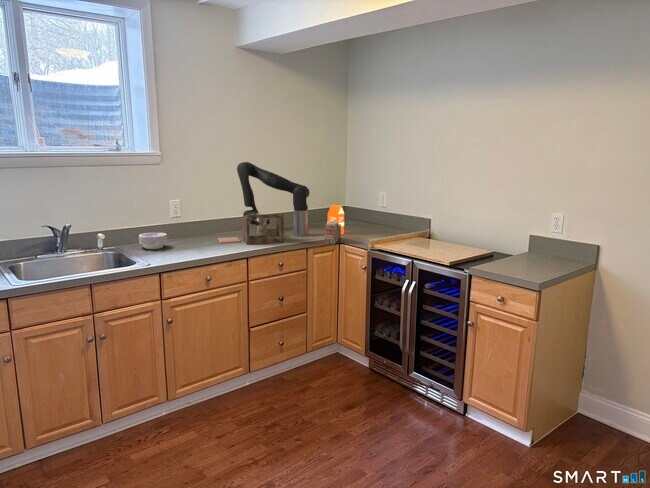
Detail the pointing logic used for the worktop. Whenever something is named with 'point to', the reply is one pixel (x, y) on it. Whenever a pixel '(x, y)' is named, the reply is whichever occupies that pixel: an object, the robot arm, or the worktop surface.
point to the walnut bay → (264, 238)
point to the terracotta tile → (229, 240)
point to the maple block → (262, 225)
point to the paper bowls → (153, 240)
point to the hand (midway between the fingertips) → (262, 223)
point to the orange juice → (336, 215)
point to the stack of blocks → (332, 232)
